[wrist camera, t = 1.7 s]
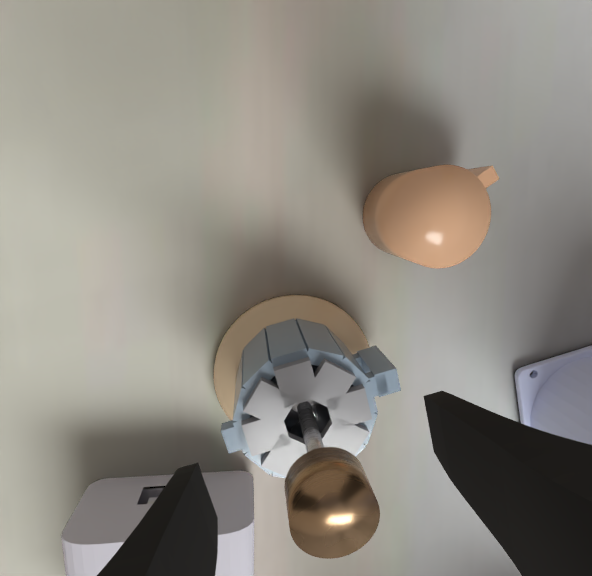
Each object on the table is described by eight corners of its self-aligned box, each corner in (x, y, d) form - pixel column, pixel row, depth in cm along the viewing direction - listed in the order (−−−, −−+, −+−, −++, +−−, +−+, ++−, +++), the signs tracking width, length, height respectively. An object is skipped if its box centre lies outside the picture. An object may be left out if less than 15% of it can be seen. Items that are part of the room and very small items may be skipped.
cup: (389, 270, 22) (425, 287, 17) (347, 204, 21) (375, 204, 16) (472, 211, 22) (531, 213, 17) (435, 141, 20) (487, 124, 16)
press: (354, 274, 21) (389, 297, 16) (386, 413, 24) (425, 474, 18) (193, 320, 21) (174, 360, 16) (240, 459, 23) (238, 534, 18)
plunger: (334, 351, 18) (386, 441, 11) (353, 426, 19) (412, 551, 12) (248, 376, 18) (249, 484, 11) (272, 451, 19) (286, 593, 12)
